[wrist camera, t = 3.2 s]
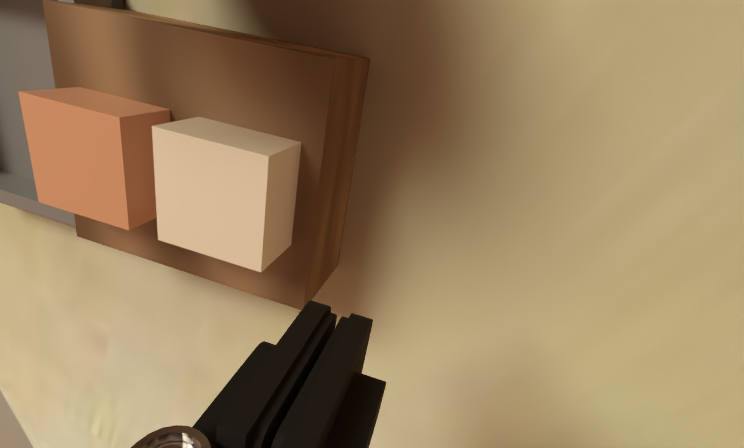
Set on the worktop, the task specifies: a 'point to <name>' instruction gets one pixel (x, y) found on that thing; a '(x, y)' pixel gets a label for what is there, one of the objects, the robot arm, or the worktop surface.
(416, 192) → the worktop surface
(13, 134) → the box
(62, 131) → the tile
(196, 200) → the tile
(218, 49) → the wooden square board
